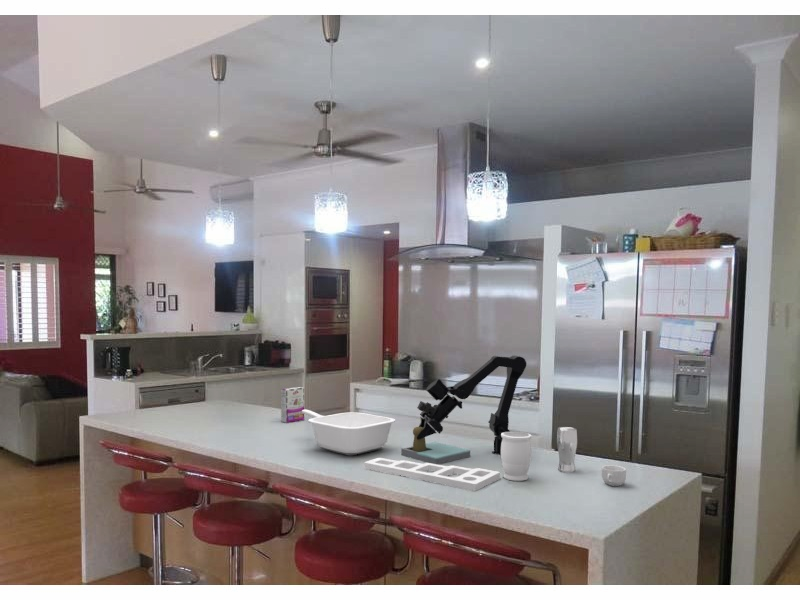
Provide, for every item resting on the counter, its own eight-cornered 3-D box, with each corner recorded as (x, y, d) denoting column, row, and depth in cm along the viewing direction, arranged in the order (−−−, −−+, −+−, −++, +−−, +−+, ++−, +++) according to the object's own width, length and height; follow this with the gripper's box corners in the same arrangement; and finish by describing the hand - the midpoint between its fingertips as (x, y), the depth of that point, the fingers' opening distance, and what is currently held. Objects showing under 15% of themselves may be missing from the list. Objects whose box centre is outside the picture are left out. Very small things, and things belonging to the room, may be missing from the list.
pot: (350, 462, 234) (351, 428, 235) (276, 443, 264) (277, 413, 264) (401, 449, 256) (401, 418, 256) (327, 433, 285) (328, 405, 285)
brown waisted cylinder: (410, 453, 249) (411, 425, 249) (426, 453, 250) (426, 425, 250) (412, 457, 243) (412, 428, 243) (427, 457, 244) (428, 428, 244)
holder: (363, 469, 226) (363, 462, 226) (392, 459, 241) (392, 452, 241) (475, 492, 200) (475, 484, 200) (500, 479, 215) (500, 472, 215)
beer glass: (577, 469, 229) (577, 427, 229) (576, 473, 222) (576, 431, 222) (557, 467, 231) (558, 426, 231) (555, 472, 224) (556, 429, 224)
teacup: (606, 479, 215) (606, 463, 215) (629, 483, 211) (629, 467, 211) (596, 486, 207) (596, 470, 207) (619, 490, 203) (619, 473, 203)
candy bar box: (298, 419, 320) (298, 386, 320) (304, 420, 316) (304, 387, 316) (280, 421, 311) (280, 388, 311) (286, 423, 308) (287, 389, 308)
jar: (531, 483, 210) (531, 438, 210) (499, 481, 212) (500, 436, 212) (531, 474, 220) (531, 431, 220) (501, 473, 222) (501, 430, 222)
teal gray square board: (470, 456, 245) (470, 450, 245) (436, 464, 233) (436, 457, 233) (435, 447, 259) (435, 441, 259) (401, 455, 247) (401, 448, 247)
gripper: (425, 390, 256) (398, 418, 254) (434, 397, 238) (405, 427, 236) (444, 410, 257) (417, 437, 256) (455, 418, 239) (426, 448, 237)
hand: (416, 437), depth 246 cm, fingers closed on brown waisted cylinder, 5 cm apart
